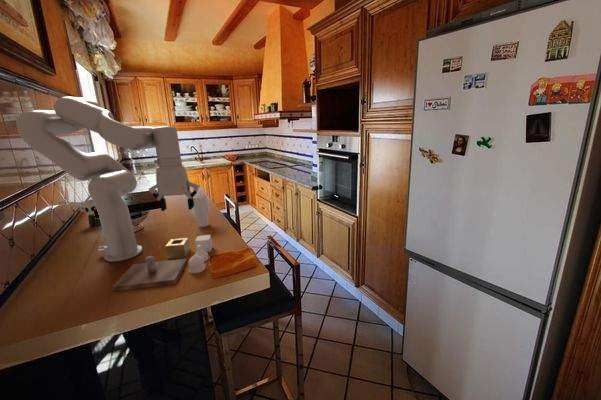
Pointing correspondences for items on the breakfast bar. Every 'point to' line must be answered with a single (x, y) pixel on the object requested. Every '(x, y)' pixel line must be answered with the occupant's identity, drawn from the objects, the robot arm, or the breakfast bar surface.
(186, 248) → the brass collar
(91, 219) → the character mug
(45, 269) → the breakfast bar surface
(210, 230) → the breakfast bar surface
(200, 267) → the container set
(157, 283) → the post board
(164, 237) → the breakfast bar surface
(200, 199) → the drinking glass
